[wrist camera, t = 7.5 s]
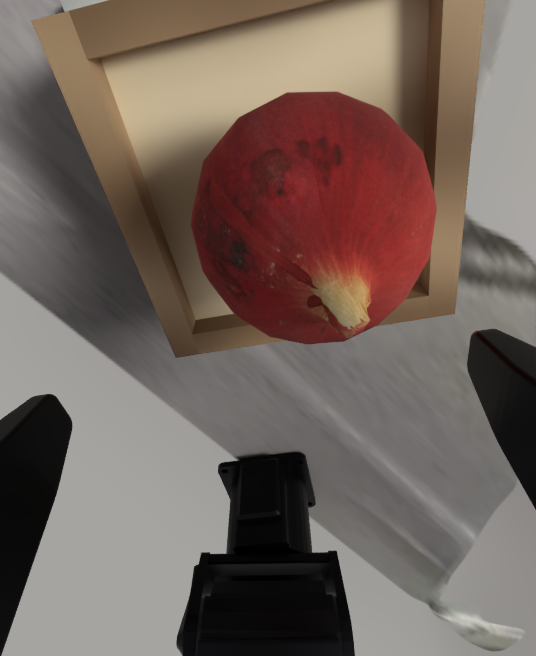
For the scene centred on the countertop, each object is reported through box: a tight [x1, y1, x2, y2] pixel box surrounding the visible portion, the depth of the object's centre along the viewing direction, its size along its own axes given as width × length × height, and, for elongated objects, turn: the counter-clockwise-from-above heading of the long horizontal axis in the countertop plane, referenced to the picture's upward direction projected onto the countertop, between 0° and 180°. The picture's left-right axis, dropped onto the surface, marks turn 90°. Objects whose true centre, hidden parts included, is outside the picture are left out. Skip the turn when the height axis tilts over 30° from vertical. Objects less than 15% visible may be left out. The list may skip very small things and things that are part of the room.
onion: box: [191, 91, 437, 344], centre depth 10 cm, size 6×6×8 cm
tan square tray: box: [31, 0, 485, 358], centre depth 14 cm, size 13×13×6 cm
